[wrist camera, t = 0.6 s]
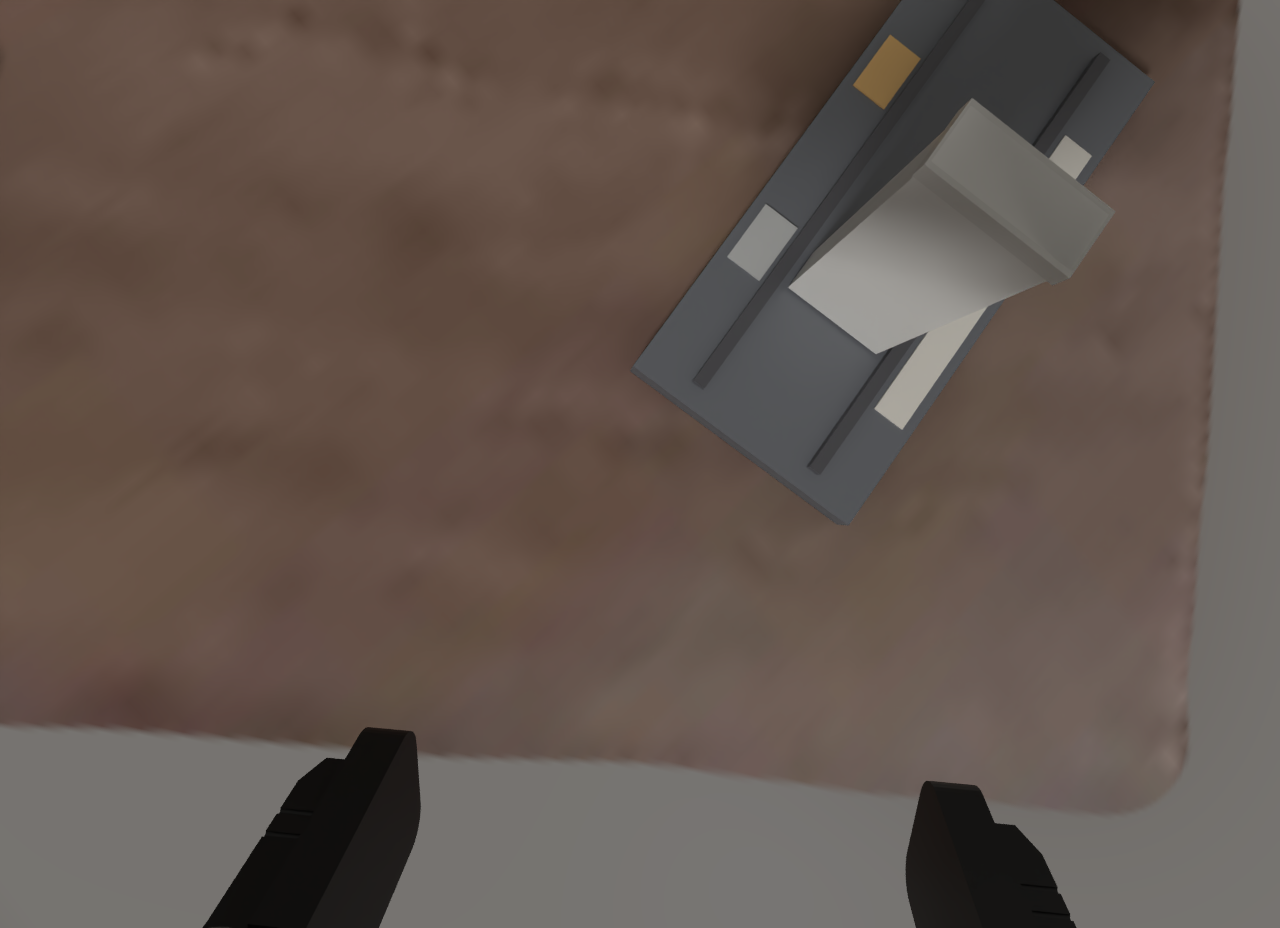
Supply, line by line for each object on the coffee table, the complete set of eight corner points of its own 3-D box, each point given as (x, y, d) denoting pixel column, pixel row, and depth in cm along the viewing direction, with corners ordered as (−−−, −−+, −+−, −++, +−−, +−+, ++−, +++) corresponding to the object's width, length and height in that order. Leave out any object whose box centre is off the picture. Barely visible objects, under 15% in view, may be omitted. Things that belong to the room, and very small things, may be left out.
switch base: (836, 524, 38) (852, 526, 36) (629, 371, 37) (634, 364, 35) (1132, 97, 40) (1162, 76, 38) (943, -56, 39) (963, -85, 37)
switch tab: (875, 359, 37) (1069, 278, 23) (783, 289, 36) (924, 164, 22) (904, 317, 37) (1115, 211, 23) (814, 247, 37) (971, 97, 23)
